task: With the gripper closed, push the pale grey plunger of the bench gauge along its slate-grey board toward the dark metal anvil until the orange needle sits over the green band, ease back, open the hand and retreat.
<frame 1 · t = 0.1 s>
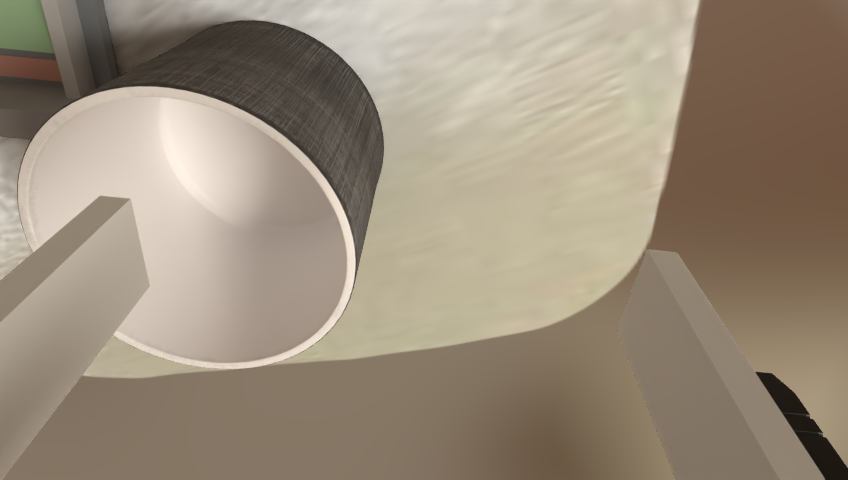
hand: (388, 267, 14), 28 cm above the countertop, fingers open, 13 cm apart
planter: (271, 139, 43), on the countertop
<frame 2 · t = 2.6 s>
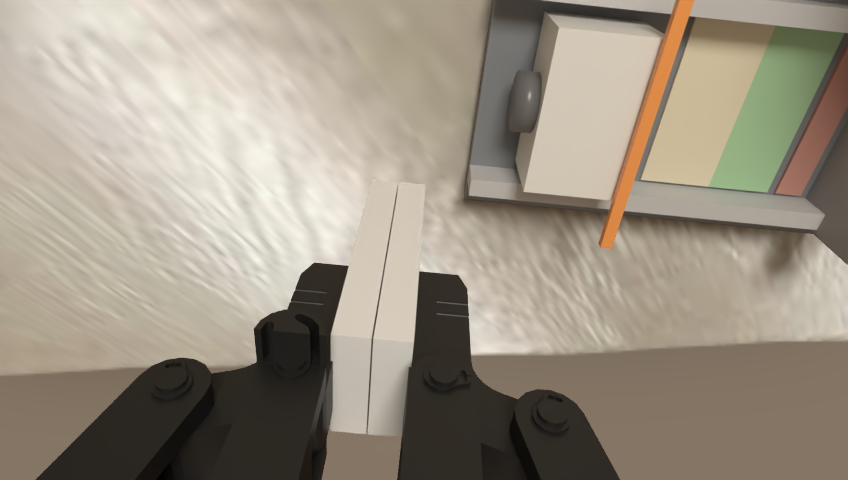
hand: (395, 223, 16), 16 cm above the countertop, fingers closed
plunger: (575, 109, 27), point 4 cm above the countertop, slide at 0.0 cm
gauge base: (676, 99, 30), on the countertop
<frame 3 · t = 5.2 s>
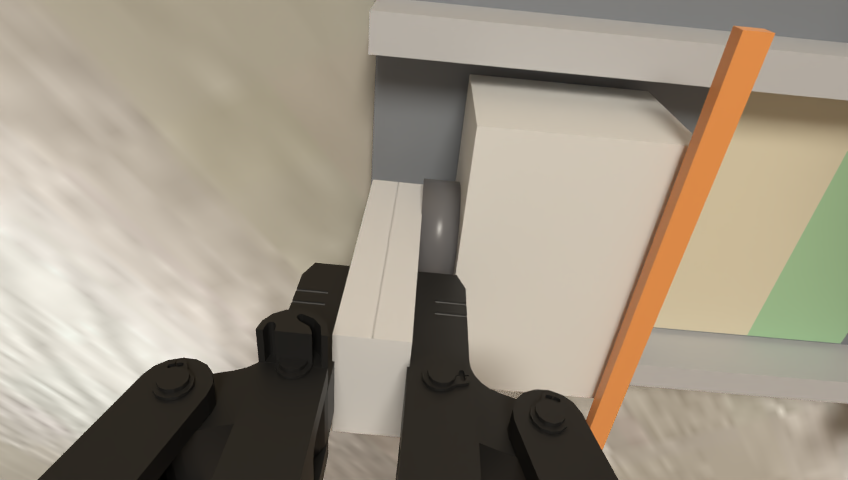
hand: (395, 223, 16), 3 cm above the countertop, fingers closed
plunger: (526, 246, 15), point 4 cm above the countertop, slide at 0.1 cm, touching gripper
gauge base: (697, 205, 18), on the countertop
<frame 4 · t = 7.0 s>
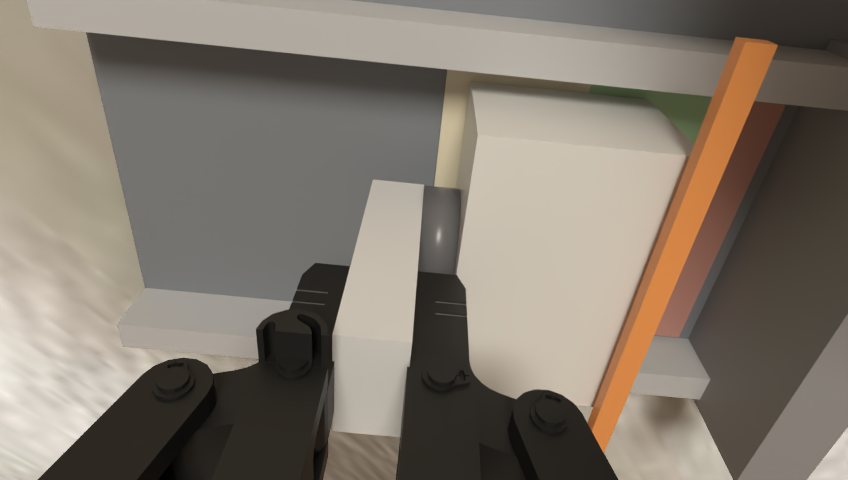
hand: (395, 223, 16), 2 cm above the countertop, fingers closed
plunger: (526, 254, 15), point 4 cm above the countertop, slide at 8.2 cm, touching gripper
gauge base: (462, 189, 18), on the countertop
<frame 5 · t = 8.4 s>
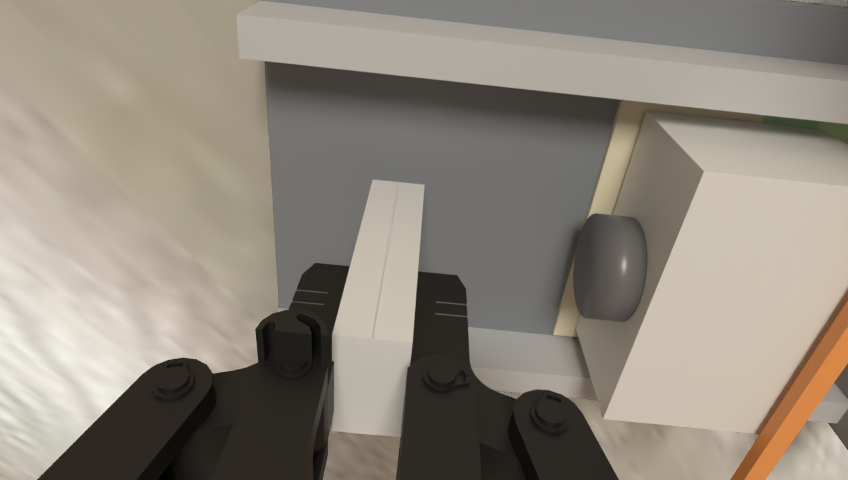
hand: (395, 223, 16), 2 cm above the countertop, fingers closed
plunger: (698, 282, 15), point 4 cm above the countertop, slide at 8.2 cm
gauge base: (606, 213, 18), on the countertop
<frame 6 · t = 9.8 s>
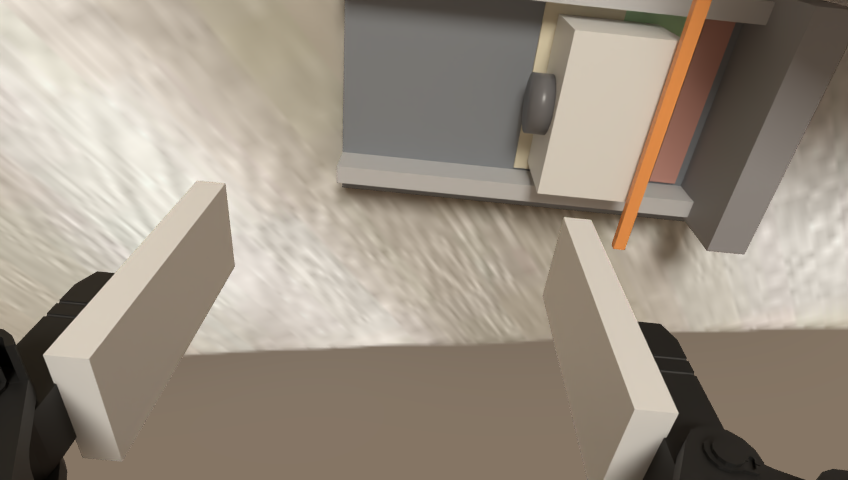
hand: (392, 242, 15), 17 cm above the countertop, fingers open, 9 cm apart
plunger: (589, 111, 27), point 4 cm above the countertop, slide at 8.2 cm
gauge base: (544, 86, 30), on the countertop
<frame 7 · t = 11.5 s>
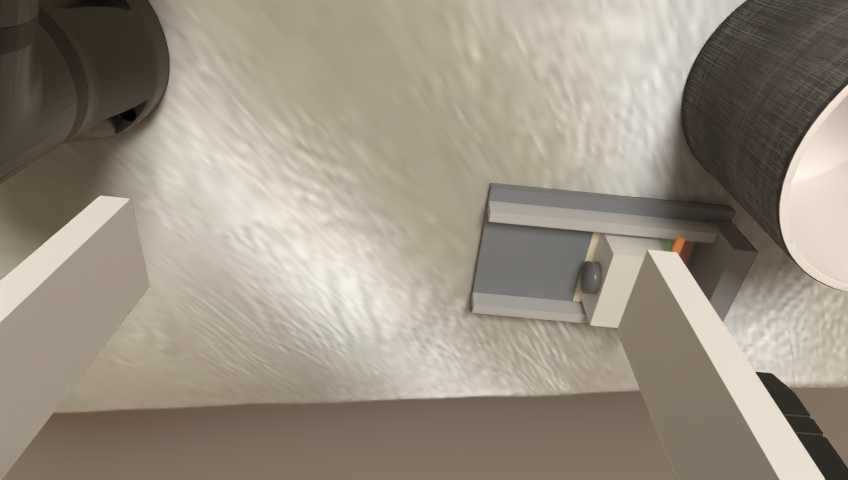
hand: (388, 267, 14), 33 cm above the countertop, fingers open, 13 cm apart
plunger: (618, 282, 50), point 4 cm above the countertop, slide at 8.2 cm
planter: (794, 86, 44), on the countertop
gauge base: (591, 258, 53), on the countertop
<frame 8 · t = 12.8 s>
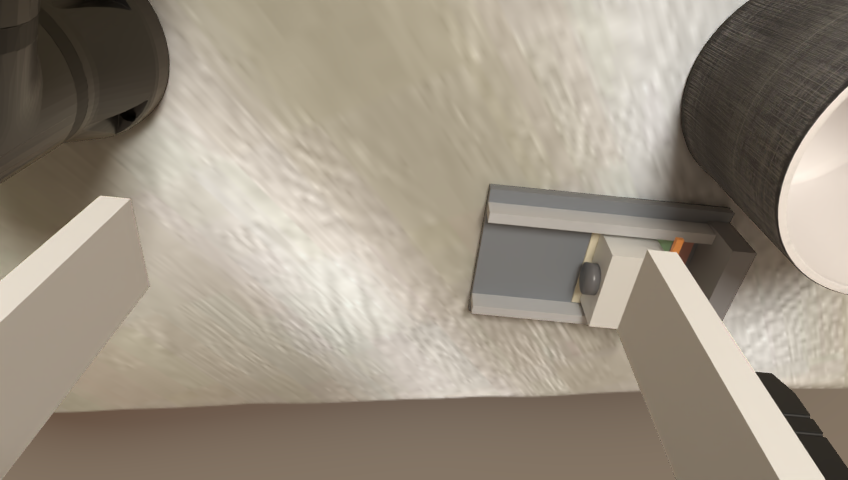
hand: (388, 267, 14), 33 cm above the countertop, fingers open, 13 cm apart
plunger: (617, 283, 50), point 4 cm above the countertop, slide at 8.2 cm
planter: (793, 88, 44), on the countertop
gauge base: (590, 259, 53), on the countertop
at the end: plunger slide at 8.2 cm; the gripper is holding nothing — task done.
